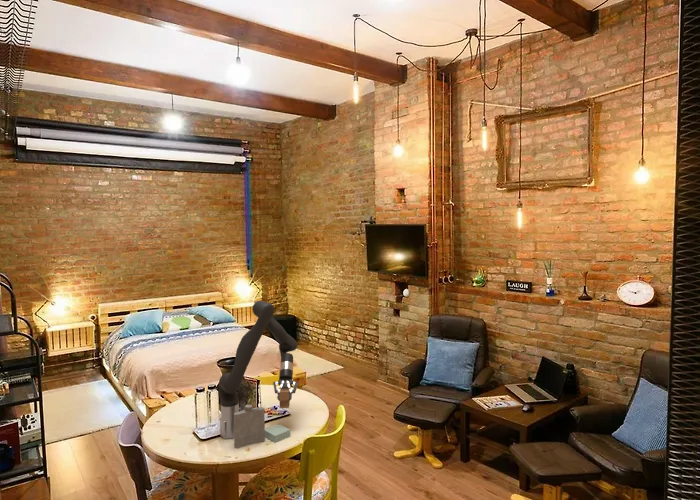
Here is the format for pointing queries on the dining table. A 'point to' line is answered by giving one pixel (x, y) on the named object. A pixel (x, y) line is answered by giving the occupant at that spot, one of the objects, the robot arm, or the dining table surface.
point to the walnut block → (284, 398)
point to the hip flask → (249, 426)
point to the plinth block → (277, 433)
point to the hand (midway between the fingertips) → (284, 400)
